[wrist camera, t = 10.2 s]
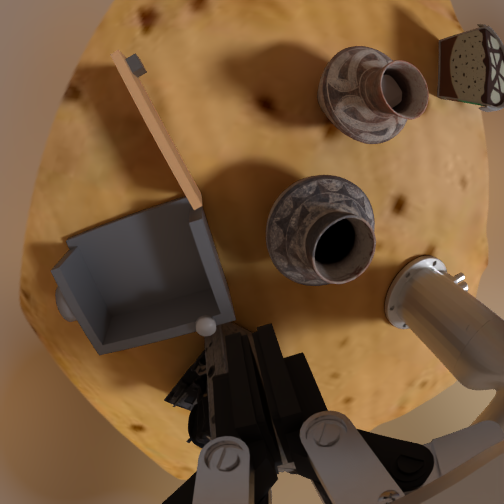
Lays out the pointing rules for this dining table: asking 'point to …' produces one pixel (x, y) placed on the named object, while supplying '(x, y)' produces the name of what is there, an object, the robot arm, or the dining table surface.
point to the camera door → (156, 124)
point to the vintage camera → (210, 389)
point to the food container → (472, 68)
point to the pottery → (336, 188)
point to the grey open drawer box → (144, 279)
